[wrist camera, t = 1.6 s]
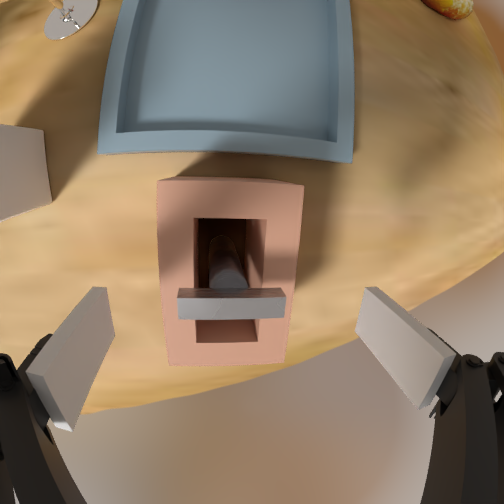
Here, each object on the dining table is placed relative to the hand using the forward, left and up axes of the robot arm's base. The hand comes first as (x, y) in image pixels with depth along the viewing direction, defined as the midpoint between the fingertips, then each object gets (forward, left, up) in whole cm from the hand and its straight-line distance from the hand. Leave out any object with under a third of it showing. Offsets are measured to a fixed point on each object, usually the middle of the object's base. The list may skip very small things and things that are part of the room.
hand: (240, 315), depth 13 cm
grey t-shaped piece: (0, 0, -11) cm, 11 cm away
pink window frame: (0, 0, -11) cm, 11 cm away
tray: (0, +18, -11) cm, 21 cm away
